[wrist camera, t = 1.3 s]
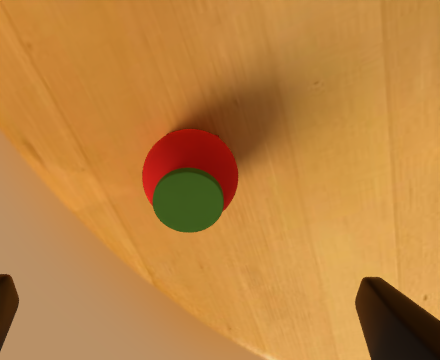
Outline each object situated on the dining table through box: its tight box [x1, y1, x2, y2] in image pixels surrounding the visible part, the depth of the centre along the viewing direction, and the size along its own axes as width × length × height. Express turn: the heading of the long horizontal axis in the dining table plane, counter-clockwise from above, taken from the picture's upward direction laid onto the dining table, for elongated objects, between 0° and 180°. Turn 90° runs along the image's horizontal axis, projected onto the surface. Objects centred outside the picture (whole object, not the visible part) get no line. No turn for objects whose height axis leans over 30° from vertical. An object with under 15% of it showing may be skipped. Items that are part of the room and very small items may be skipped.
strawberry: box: [142, 129, 238, 232], centre depth 14 cm, size 4×4×4 cm
